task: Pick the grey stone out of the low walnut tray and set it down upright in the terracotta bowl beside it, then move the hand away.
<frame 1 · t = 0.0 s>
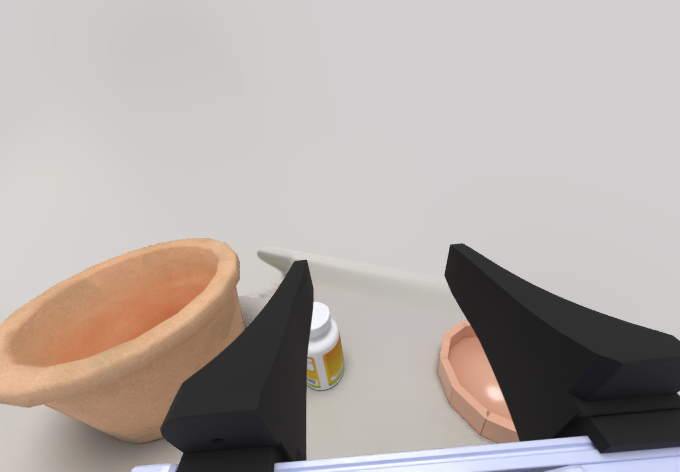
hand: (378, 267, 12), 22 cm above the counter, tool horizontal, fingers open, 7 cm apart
supplement bottle: (323, 370, 31), on the counter
pottery: (185, 369, 33), on the counter
bowl: (499, 382, 27), on the counter
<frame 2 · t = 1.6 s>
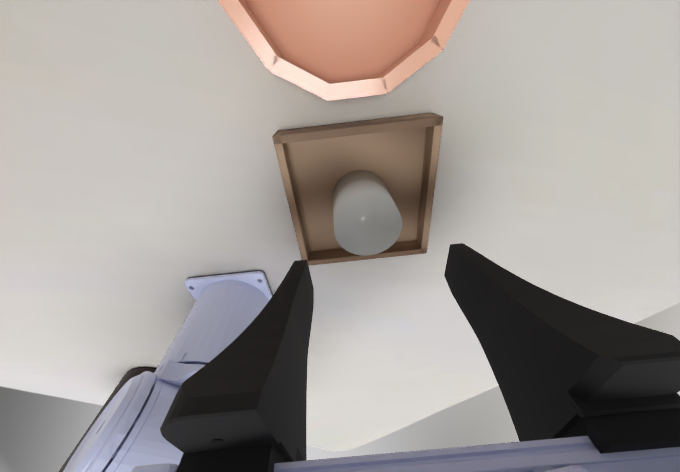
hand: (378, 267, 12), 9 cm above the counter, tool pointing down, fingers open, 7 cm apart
tray: (358, 193, 20), on the counter
vinegar: (153, 377, 35), on the counter
stone: (359, 196, 20), point 1 cm above the counter, touching tray
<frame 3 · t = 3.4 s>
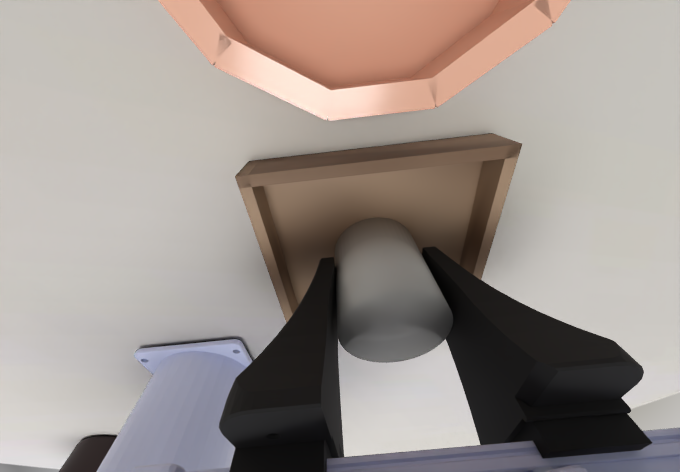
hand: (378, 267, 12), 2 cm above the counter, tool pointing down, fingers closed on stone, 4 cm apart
tray: (372, 245, 14), on the counter
vinegar: (115, 443, 29), on the counter
stone: (374, 252, 13), point 1 cm above the counter, touching gripper, tray
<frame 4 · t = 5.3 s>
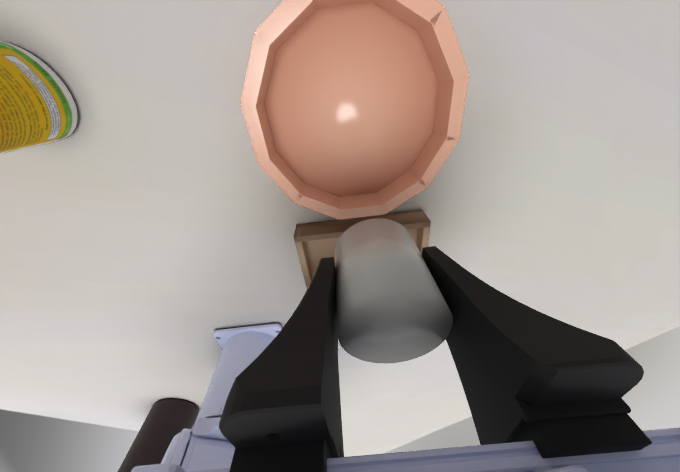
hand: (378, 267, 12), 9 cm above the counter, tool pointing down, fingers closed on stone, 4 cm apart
tray: (362, 265, 24), on the counter
supplement bottle: (33, 94, 15), on the counter
vinegar: (177, 406, 39), on the counter
bowl: (351, 116, 17), on the counter
stone: (374, 252, 13), point 8 cm above the counter, touching gripper
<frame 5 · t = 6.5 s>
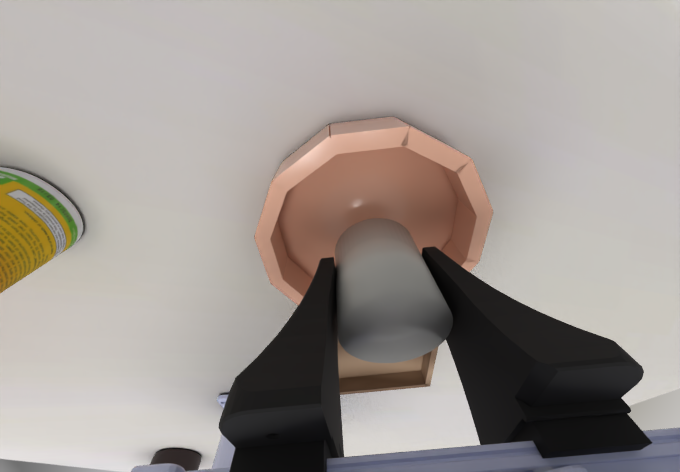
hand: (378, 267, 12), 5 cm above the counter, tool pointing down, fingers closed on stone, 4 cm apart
tray: (371, 342, 24), on the counter
supplement bottle: (37, 207, 15), on the counter
vinegar: (179, 453, 38), on the counter
bowl: (366, 223, 16), on the counter
stone: (374, 252, 13), point 3 cm above the counter, touching gripper
when the fingers open (3 cm above the counter, at t = 7.6 s): stone drops 1 cm, resting on bowl.
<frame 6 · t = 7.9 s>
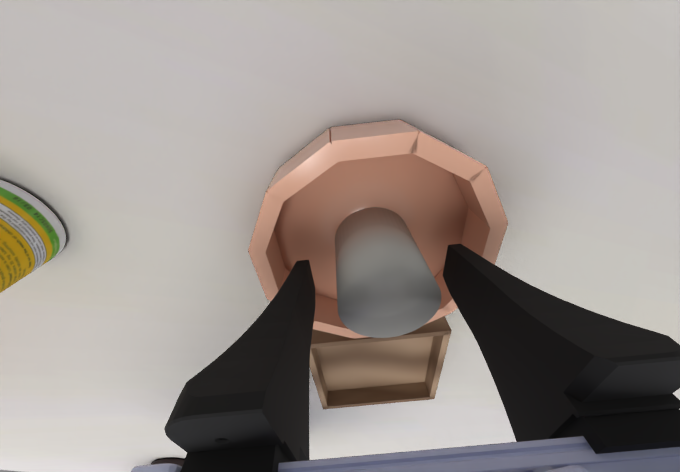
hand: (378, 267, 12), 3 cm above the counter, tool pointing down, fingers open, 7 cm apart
tray: (373, 353, 23), on the counter
supplement bottle: (16, 216, 14), on the counter
vinegar: (176, 462, 37), on the counter
bowl: (369, 232, 15), on the counter
stone: (371, 240, 14), point 1 cm above the counter, touching bowl
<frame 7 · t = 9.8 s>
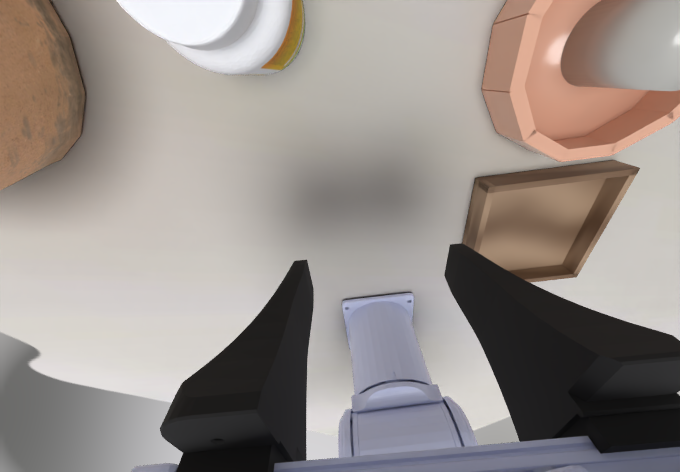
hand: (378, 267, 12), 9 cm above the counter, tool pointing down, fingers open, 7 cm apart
tray: (523, 226, 23), on the counter
supplement bottle: (259, 19, 14), on the counter
bowl: (588, 44, 15), on the counter
stone: (600, 43, 15), point 1 cm above the counter, touching bowl
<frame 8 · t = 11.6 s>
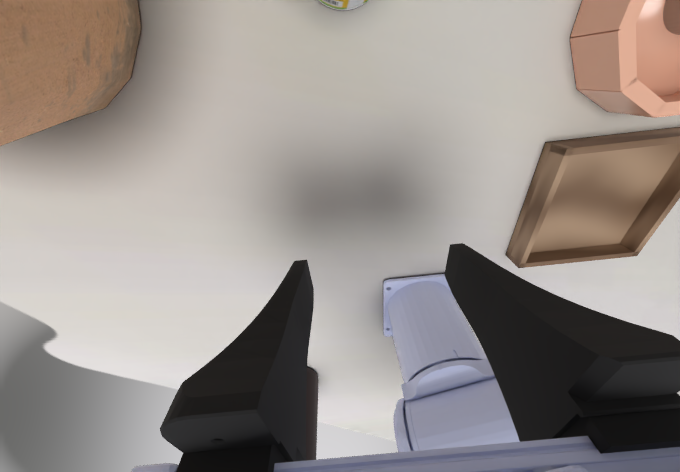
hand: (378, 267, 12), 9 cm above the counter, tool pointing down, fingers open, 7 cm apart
tray: (585, 199, 21), on the counter
vinegar: (295, 374, 36), on the counter
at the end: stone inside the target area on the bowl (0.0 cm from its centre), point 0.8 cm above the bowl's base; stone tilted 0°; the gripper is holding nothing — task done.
